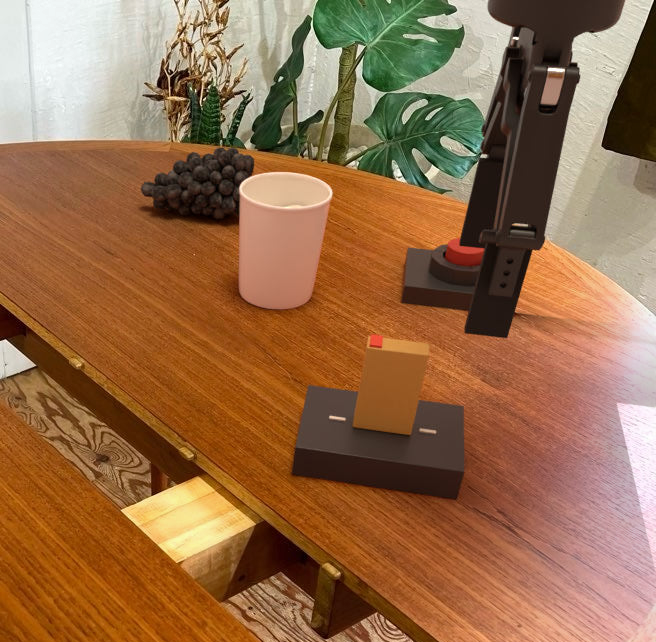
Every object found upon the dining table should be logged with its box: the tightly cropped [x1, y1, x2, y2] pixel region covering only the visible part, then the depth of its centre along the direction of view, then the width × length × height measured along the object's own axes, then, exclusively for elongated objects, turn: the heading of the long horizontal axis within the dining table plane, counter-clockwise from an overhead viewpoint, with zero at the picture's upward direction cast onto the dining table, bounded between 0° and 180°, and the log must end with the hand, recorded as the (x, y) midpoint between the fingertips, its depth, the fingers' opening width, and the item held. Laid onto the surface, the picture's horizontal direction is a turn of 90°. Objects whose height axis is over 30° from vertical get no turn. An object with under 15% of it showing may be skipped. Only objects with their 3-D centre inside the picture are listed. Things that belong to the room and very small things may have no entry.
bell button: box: [445, 237, 484, 266], centre depth 107 cm, size 4×4×2 cm
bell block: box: [400, 243, 480, 312], centre depth 109 cm, size 12×10×4 cm
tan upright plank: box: [353, 333, 430, 435], centre depth 81 cm, size 5×2×8 cm, turn 76°
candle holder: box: [238, 171, 333, 310], centre depth 105 cm, size 10×10×12 cm
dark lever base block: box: [291, 384, 466, 500], centre depth 85 cm, size 14×10×3 cm
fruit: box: [140, 147, 255, 220], centre depth 124 cm, size 9×8×15 cm
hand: (481, 286), depth 68 cm, fingers open, 13 cm apart
